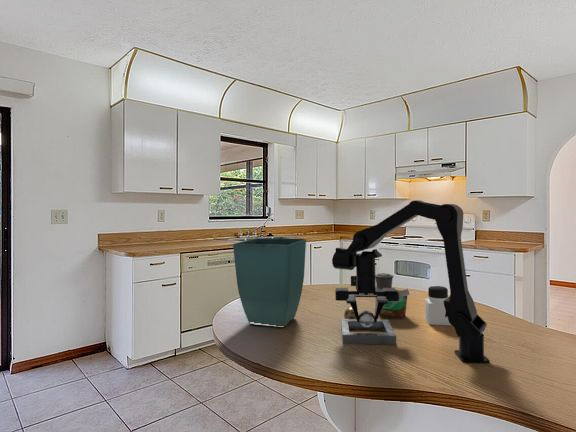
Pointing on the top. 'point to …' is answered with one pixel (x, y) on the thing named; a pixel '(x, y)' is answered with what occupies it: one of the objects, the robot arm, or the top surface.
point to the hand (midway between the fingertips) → (366, 322)
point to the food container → (395, 306)
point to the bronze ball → (349, 314)
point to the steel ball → (366, 318)
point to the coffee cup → (384, 280)
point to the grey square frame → (367, 338)
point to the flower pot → (270, 278)
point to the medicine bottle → (436, 306)
